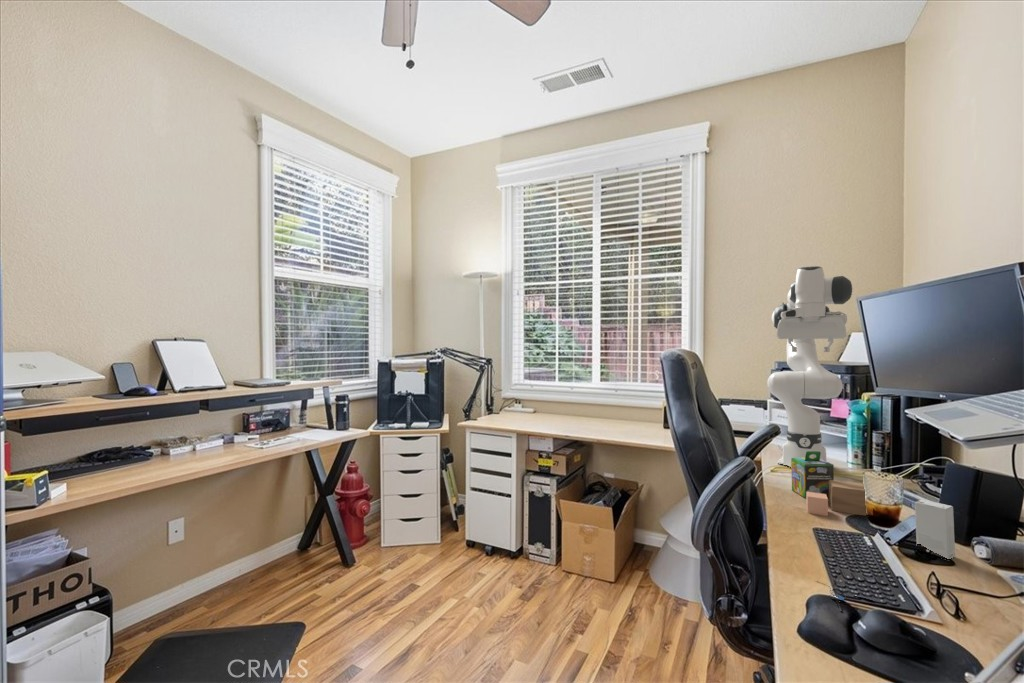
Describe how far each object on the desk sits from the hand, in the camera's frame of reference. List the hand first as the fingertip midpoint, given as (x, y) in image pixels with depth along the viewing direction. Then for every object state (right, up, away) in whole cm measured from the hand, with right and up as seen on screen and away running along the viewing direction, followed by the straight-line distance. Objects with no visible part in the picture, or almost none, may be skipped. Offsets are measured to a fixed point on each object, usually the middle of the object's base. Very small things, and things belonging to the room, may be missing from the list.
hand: (810, 352), depth 157 cm
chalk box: (-4, -48, -7) cm, 48 cm away
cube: (-12, -48, -22) cm, 54 cm away
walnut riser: (-1, -47, -20) cm, 51 cm away
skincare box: (-3, -48, -49) cm, 68 cm away
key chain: (-37, -48, -66) cm, 90 cm away
